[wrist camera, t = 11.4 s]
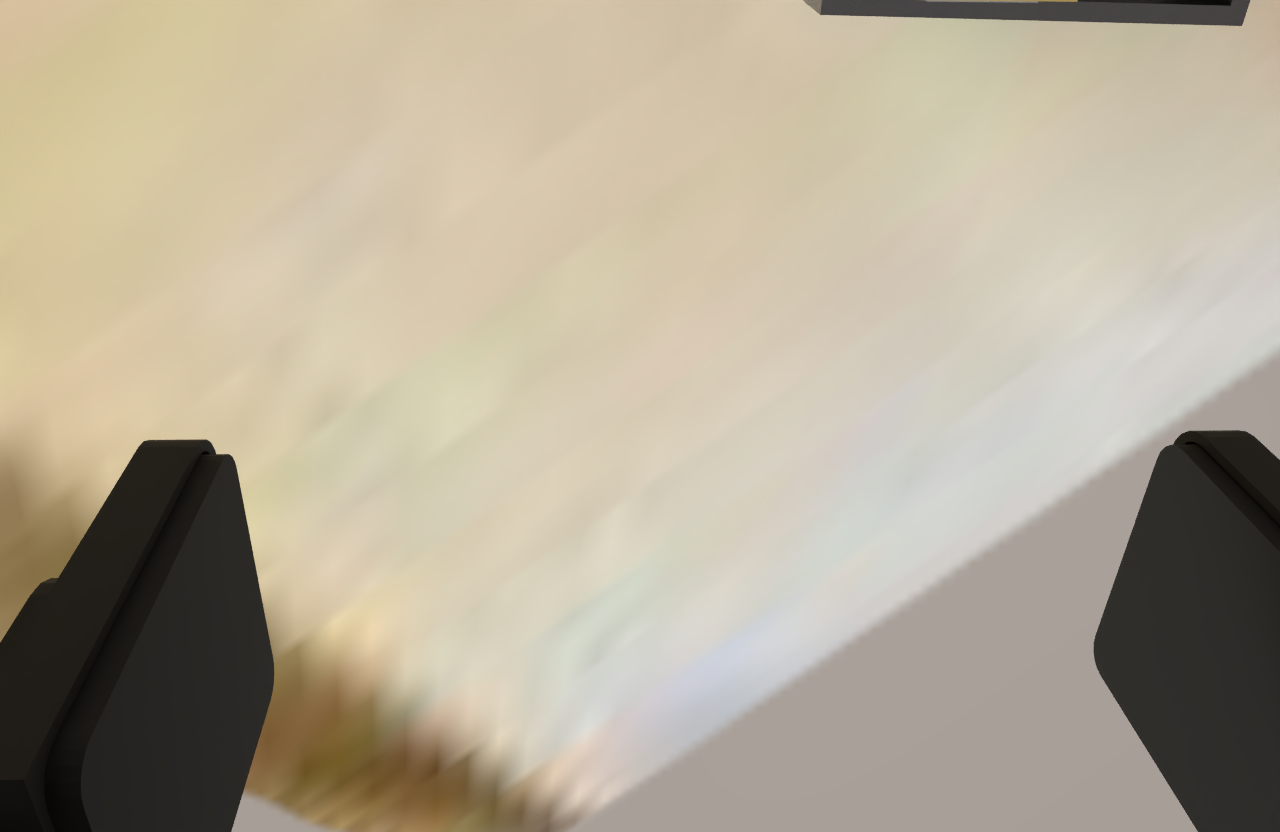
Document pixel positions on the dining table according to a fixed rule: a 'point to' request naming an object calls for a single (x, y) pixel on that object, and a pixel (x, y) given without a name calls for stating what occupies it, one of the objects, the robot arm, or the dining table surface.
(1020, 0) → the gold block
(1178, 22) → the tray
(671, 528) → the dining table surface
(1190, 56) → the dining table surface
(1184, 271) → the dining table surface
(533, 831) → the dining table surface
